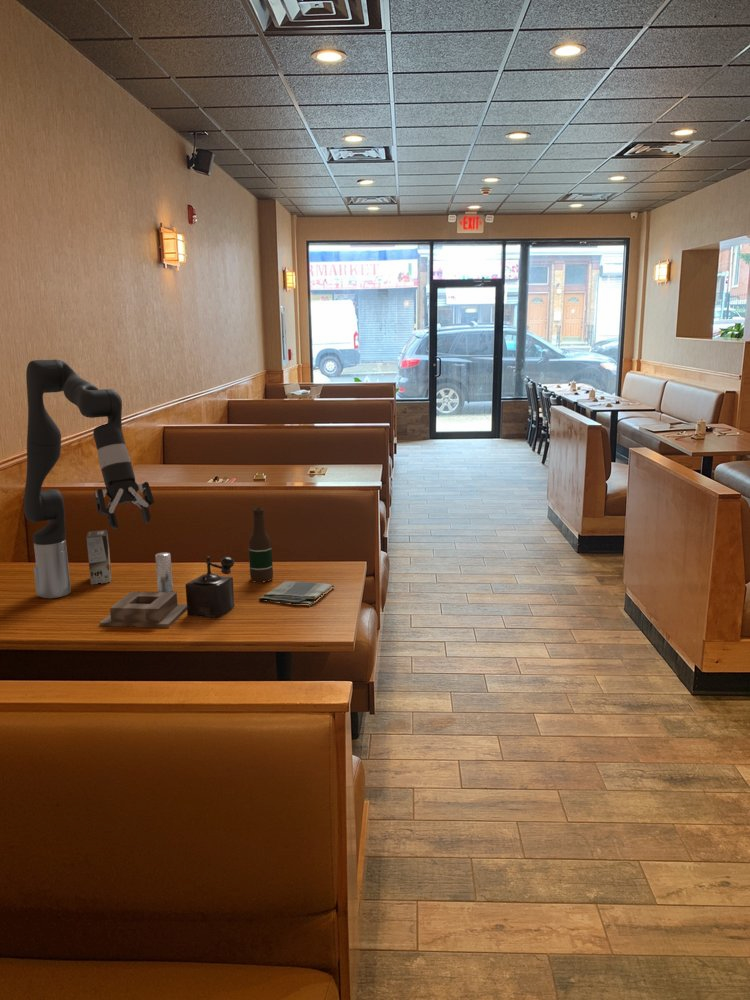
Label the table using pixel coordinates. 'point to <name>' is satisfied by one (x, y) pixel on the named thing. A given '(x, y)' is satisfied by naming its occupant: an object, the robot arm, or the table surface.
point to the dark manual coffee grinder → (211, 591)
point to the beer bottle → (260, 550)
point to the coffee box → (99, 556)
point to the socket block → (145, 610)
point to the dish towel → (296, 592)
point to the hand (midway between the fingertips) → (131, 525)
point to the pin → (164, 572)
